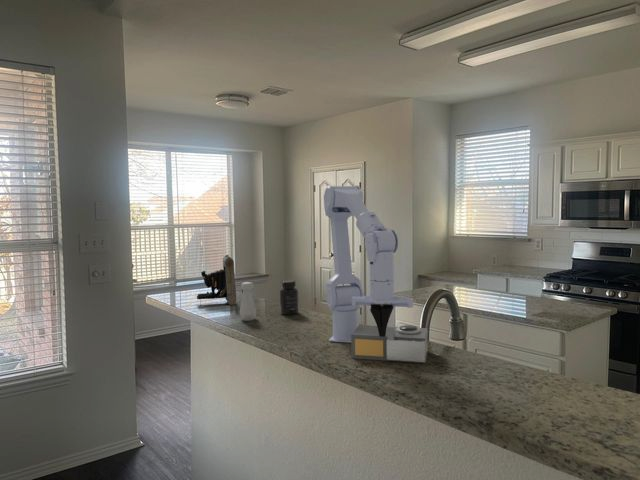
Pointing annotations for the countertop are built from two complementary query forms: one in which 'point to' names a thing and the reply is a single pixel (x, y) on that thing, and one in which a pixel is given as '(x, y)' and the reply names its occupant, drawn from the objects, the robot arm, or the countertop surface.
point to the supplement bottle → (289, 298)
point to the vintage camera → (221, 282)
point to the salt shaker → (247, 302)
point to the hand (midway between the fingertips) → (382, 335)
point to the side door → (404, 348)
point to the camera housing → (382, 341)
